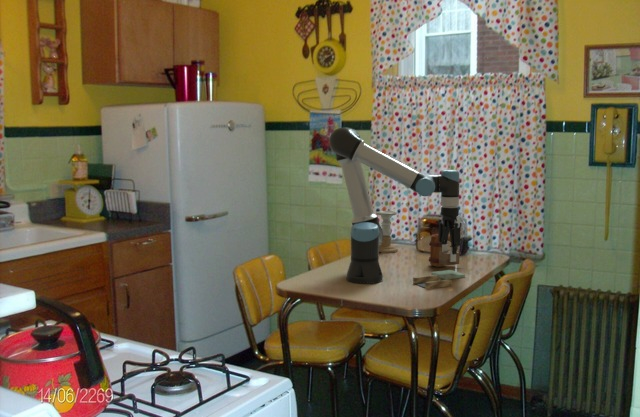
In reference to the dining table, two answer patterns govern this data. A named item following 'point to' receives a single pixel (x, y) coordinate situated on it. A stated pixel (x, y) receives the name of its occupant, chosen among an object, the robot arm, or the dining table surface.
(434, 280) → the channel
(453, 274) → the plate
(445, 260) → the block
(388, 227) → the candle holder
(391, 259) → the dining table surface
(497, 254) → the dining table surface
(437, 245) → the mug
